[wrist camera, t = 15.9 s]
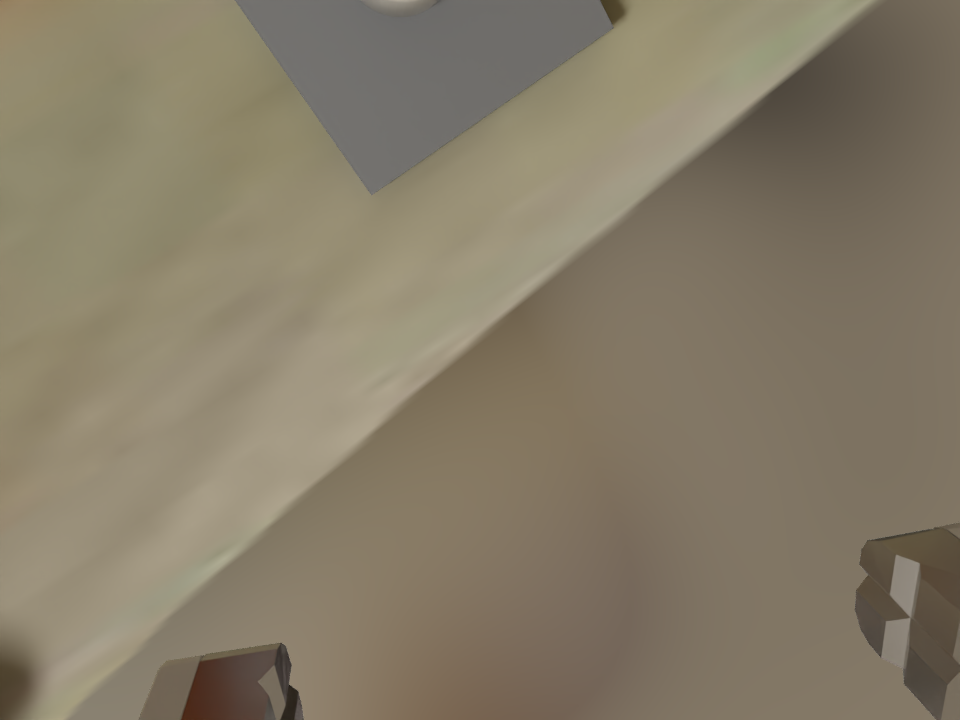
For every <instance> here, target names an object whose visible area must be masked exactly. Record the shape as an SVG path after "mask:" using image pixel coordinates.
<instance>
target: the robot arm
mask: <svg viewBox="0 0 960 720" xmlns="http://www.w3.org/2000/svg"><path fill="white" fill-rule="evenodd" d="M860 566H861V567H862V568H863V570H864V571H865V572H866V573H867V574H868V576H867V577H866V578H865V580H864V581H863V582H862V583H861V585H860V586H859V587H858V589H857V590H856V602H855V612H856V615H857V619H858V622H859V625H860V629H861V631H862V633H863V634H864V636H865V638H866V640H867V641H868V643H869V645H870V646H871V647H872V648H873V649H874V650H875V652H876V653H877V654H878V655H879V656H880V657H881V658H882V659H884V660H886V661H888V662H890V663H892V664H894V665H896V666H899V667H901V668H902V669H903V676H904V684H905V686H906V687H907V688H908V689H909V690H910V691H911V692H912V693H913V694H914V696H915V697H916V698H917V699H918V700H919V701H920V702H921V703H922V704H923V705H924V707H925V708H926V709H927V710H928V711H929V712H930V713H931V714H932V716H933V717H934V718H935V719H936V720H960V523H955V524H950V525H945V526H940V527H935V528H933V529H927V530H922V531H916V532H911V533H905V534H900V535H894V536H889V537H883V538H878V539H872V540H867V542H866V543H865V545H864V547H863V548H862V549H861V556H860ZM291 666H292V665H291V662H290V658H289V655H288V652H287V648H286V646H285V645H284V644H282V643H277V644H269V645H263V646H256V647H249V648H243V649H236V650H230V651H223V652H216V653H210V654H206V655H205V656H204V655H203V656H195V657H188V658H182V659H175V660H168V661H166V662H165V663H164V664H163V665H162V666H161V667H160V668H159V670H158V671H157V674H156V676H155V679H154V681H153V684H152V686H151V689H150V691H149V694H148V697H147V699H146V702H145V704H144V707H143V709H142V712H141V714H140V717H139V720H304V718H303V711H302V705H301V700H300V696H299V692H298V691H297V690H296V689H295V688H293V687H292V686H290V685H289V679H290V673H291Z"/></svg>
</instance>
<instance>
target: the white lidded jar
mask: <svg viewBox="0 0 960 720" xmlns="http://www.w3.org/2000/svg"><path fill="white" fill-rule="evenodd" d="M360 1H361V2H363V3H364V4H365V5H366V6H368V7H369V8H371V9H372V10H374V11H376V12H378V13H380V14H384V15H387V16H392V17H410V16H414V15H417V14H420V13H422V12H424V11H426V10H428V9H429V8H431V7H432V6H433V5H434V4H436V3H437V2H438V1H439V0H360Z"/></svg>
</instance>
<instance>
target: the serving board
mask: <svg viewBox="0 0 960 720" xmlns="http://www.w3.org/2000/svg"><path fill="white" fill-rule="evenodd" d="M235 1H236V2H237V4H238V5H239V7H240V8H241V10H242V11H243V12H244V14H245V15H246V17H247V18H248V20H249V21H250V22H251V24H252V25H253V27H254V28H255V30H256V31H257V32H258V34H259V35H260V37H261V38H262V40H263V41H264V42H265V44H266V45H267V47H268V48H269V50H270V51H271V52H272V54H273V55H274V57H275V58H276V60H277V61H278V62H279V64H280V65H281V67H282V68H283V69H284V71H285V72H286V74H287V75H288V77H289V78H290V79H291V81H292V82H293V84H294V85H295V87H296V88H297V89H298V91H299V92H300V94H301V95H302V97H303V98H304V99H305V101H306V102H307V104H308V105H309V107H310V108H311V109H312V111H313V112H314V114H315V115H316V117H317V118H318V119H319V121H320V122H321V124H322V125H323V127H324V128H325V129H326V131H327V132H328V134H329V135H330V137H331V138H332V139H333V141H334V142H335V144H336V145H337V147H338V148H339V149H340V151H341V152H342V154H343V155H344V157H345V158H346V159H347V161H348V162H349V164H350V165H351V167H352V168H353V169H354V171H355V172H356V174H357V175H358V177H359V178H360V179H361V181H362V182H363V184H364V185H365V187H366V188H367V189H368V191H369V192H370V194H371V195H373V194H374V193H375V192H377V191H378V190H380V189H381V188H383V187H384V186H386V185H387V184H388V183H390V182H391V181H393V180H394V179H396V178H397V177H399V176H400V175H401V174H403V173H404V172H406V171H407V170H409V169H410V168H412V167H413V166H415V165H416V164H417V163H419V162H420V161H422V160H423V159H425V158H426V157H428V156H429V155H430V154H432V153H433V152H435V151H436V150H438V149H439V148H441V147H442V146H443V145H445V144H446V143H448V142H449V141H451V140H452V139H454V138H455V137H456V136H458V135H459V134H461V133H462V132H464V131H465V130H467V129H468V128H470V127H471V126H472V125H474V124H475V123H477V122H478V121H480V120H481V119H483V118H484V117H485V116H487V115H488V114H490V113H491V112H493V111H494V110H496V109H497V108H498V107H500V106H501V105H503V104H504V103H506V102H507V101H509V100H510V99H512V98H513V97H514V96H516V95H517V94H519V93H520V92H522V91H523V90H525V89H526V88H527V87H529V86H530V85H532V84H533V83H535V82H536V81H538V80H539V79H540V78H542V77H543V76H545V75H546V74H548V73H549V72H551V71H552V70H553V69H555V68H556V67H558V66H559V65H561V64H562V63H564V62H565V61H567V60H568V59H569V58H571V57H572V56H574V55H575V54H577V53H578V52H580V51H581V50H582V49H584V48H585V47H587V46H588V45H590V44H591V43H593V42H594V41H595V40H597V39H598V38H600V37H601V36H603V35H604V34H606V33H607V32H609V31H610V30H611V29H613V28H614V27H613V25H612V23H611V21H610V19H609V17H608V15H607V13H606V11H605V9H604V7H603V5H602V3H601V1H600V0H439V1H438V2H437V3H436V4H434V5H433V6H432V7H431V8H429V9H428V10H426V11H424V12H422V13H420V14H417V15H414V16H410V17H392V16H387V15H384V14H380V13H378V12H376V11H374V10H372V9H371V8H369V7H368V6H366V5H365V4H364V3H363V2H361V1H360V0H235Z"/></svg>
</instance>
